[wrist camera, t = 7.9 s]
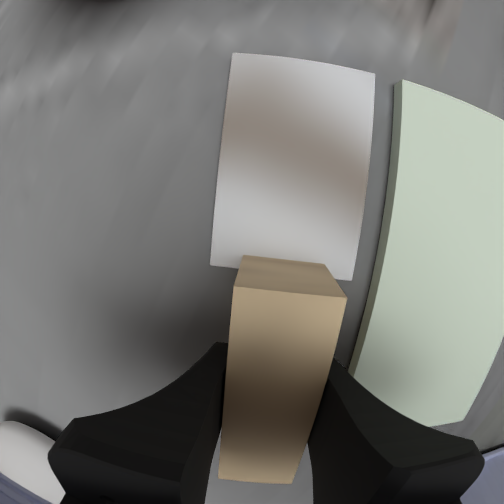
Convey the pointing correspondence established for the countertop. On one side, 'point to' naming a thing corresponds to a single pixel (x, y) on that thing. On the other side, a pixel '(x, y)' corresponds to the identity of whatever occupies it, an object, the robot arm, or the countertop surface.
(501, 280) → the mat
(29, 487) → the flower in vase
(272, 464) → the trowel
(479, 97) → the countertop surface
